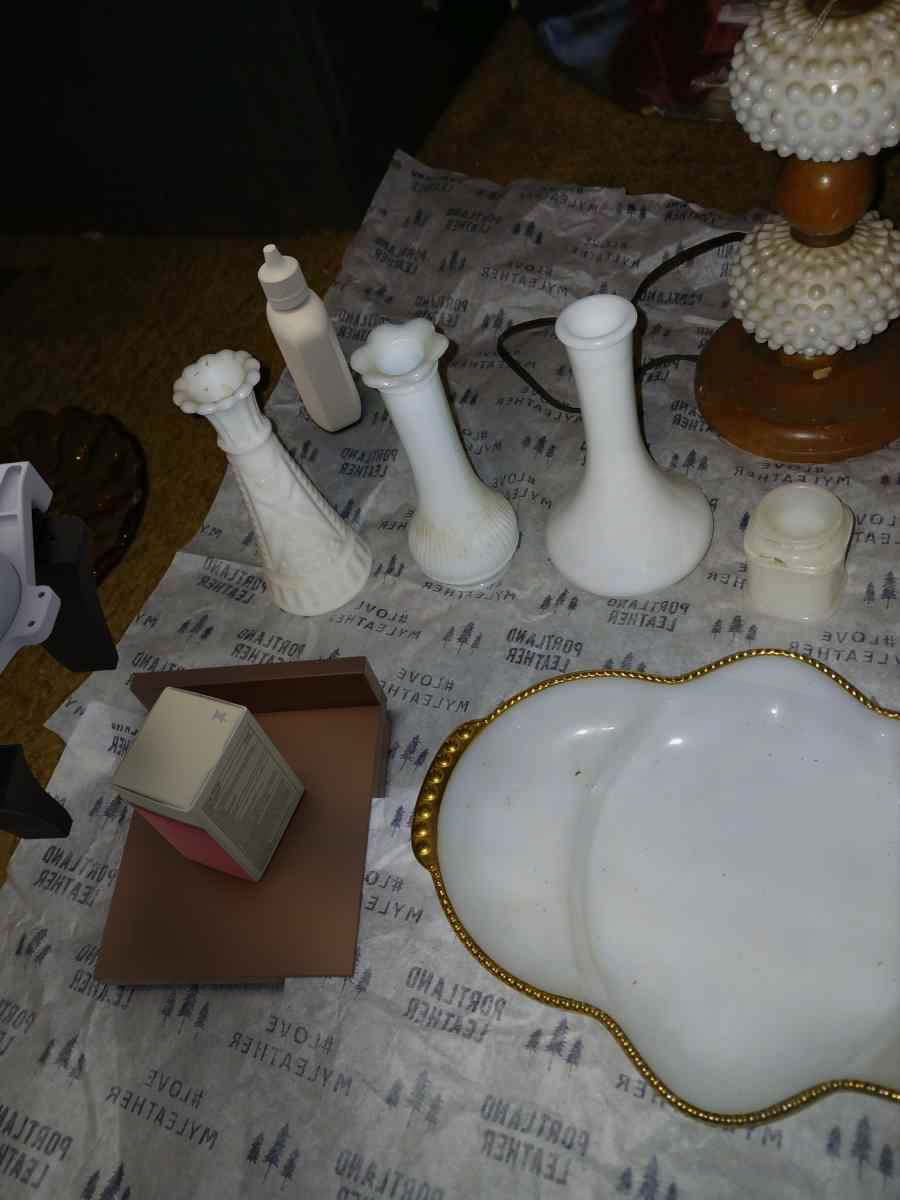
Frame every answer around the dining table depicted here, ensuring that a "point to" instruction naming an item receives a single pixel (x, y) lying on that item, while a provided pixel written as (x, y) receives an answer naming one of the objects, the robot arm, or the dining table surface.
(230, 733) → the small box
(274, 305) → the eye dropper bottle
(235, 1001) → the dining table surface
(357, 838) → the shelf
